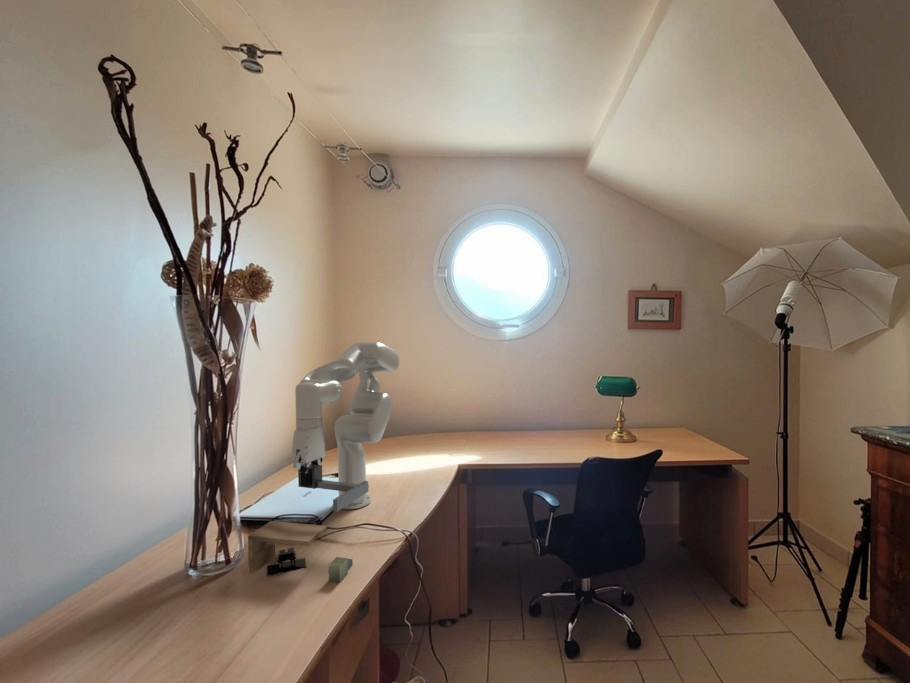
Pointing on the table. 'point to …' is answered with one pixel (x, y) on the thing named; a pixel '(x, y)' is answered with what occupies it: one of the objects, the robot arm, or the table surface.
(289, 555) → the black phone stand
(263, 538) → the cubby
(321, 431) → the robot arm
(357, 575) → the table surface
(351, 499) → the grey angular bent frame
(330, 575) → the pale green block
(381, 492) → the table surface
